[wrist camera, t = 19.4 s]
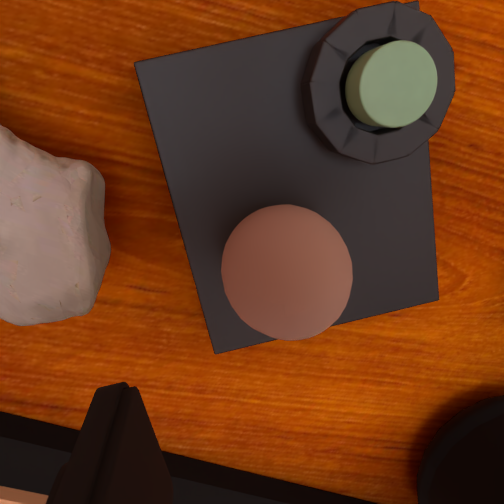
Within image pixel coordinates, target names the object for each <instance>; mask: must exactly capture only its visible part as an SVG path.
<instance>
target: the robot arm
mask: <svg viewBox="0 0 504 504" xmlns="http://www.w3.org/2000/svg"><path fill="white" fill-rule="evenodd" d="M46 504H173V484H172V479H171V476H170V474H169V471H168V468H167V465H166V463H165V460H164V457H163V455H162V452H161V449H160V447H159V444H158V441H157V438H156V436H155V433H154V430H153V428H152V425H151V422H150V420H149V417H148V414H147V411H146V409H145V406H144V403H143V401H142V398H141V395H140V393H139V390H138V388H137V387H135V386H134V387H130V388H129V386H128V384H127V383H126V382H121V383H117V384H113V385H108V386H104V387H100V388H98V389H97V390H96V392H95V394H94V397H93V399H92V402H91V404H90V407H89V410H88V412H87V415H86V417H85V420H84V423H83V425H82V428H81V430H80V433H79V436H78V438H77V441H76V443H75V446H74V449H73V451H72V454H71V457H70V459H69V462H68V463H65V464H64V465H63V466H62V467H61V468H60V470H59V472H58V474H57V476H56V479H55V481H54V484H53V486H52V489H51V491H50V494H49V496H48V499H47V501H46Z"/></svg>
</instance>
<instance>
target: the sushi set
mask: <svg viewBox="0 0 504 504" xmlns="http://www.w3.org/2000/svg"><path fill="white" fill-rule="evenodd" d="M79 433H80V431H77V430H73V429H69V428H65V427H61V426H57V425H53V424H49V423H45V422H41V421H36V420H32V419H28V418H24V417H20V416H16V415H12V414H8V413H4V412H0V504H46V501H47V499H48V496H49V494H50V491H51V489H52V486H53V484H54V481H55V479H56V476H57V474H58V472H59V470H60V468H61V467H62V466H63V465H64V464H65V463H68V462H69V459H70V457H71V454H72V451H73V449H74V446H75V443H76V441H77V438H78V436H79ZM161 452H162V455H163V457H164V460H165V463H166V465H167V468H168V471H169V474H170V476H171V479H172V484H173V504H375V503H371V502H367V501H363V500H359V499H355V498H351V497H347V496H342V495H338V494H334V493H330V492H326V491H322V490H318V489H314V488H310V487H306V486H302V485H298V484H293V483H289V482H285V481H281V480H277V479H273V478H269V477H265V476H261V475H257V474H253V473H249V472H245V471H240V470H236V469H232V468H228V467H224V466H220V465H216V464H212V463H208V462H204V461H200V460H196V459H191V458H187V457H183V456H179V455H175V454H171V453H167V452H163V451H161Z"/></svg>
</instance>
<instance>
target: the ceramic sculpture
mask: <svg viewBox="0 0 504 504" xmlns="http://www.w3.org/2000/svg"><path fill="white" fill-rule="evenodd" d="M104 202H105V181H104V178H103V177H102V175H101V173H100V172H99V171H98V170H97V169H96V168H95V167H94V166H93V165H92V164H90V163H88V162H86V161H83V160H74V159H70V158H67V157H55V156H53V155H51V154H49V153H47V152H45V151H43V150H41V149H39V148H36V147H34V146H32V145H31V144H29V143H27V142H25V141H23V140H21V139H19V138H18V137H16V136H15V135H14V134H13V133H12V132H11V131H10V130H9V129H8V128H6V127H3V126H2V125H1V124H0V318H1V319H3V320H5V321H7V322H9V323H12V324H15V325H18V326H28V325H35V324H40V323H49V322H55V321H61V320H64V319H67V318H70V317H73V316H83V315H85V314H87V313H89V312H90V310H91V309H92V307H93V305H94V303H95V300H96V296H97V294H98V291H99V289H100V286H101V283H102V279H103V276H104V272H105V269H106V266H107V265H108V262H109V258H110V253H111V245H110V241H109V238H108V235H107V232H106V229H105V225H104Z"/></svg>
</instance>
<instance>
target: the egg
mask: <svg viewBox="0 0 504 504" xmlns="http://www.w3.org/2000/svg"><path fill="white" fill-rule="evenodd" d="M221 275H222V280H223V285H224V290H225V294H226V296H227V298H228V300H229V302H230V304H231V306H232V307H233V309H234V310H235V312H236V313H237V314H238V316H239V317H240V318H241V319H242V320H243V321H244V322H245V323H246V324H248V325H249V326H250V327H251V328H253V329H255V330H257V331H259V332H261V333H263V334H265V335H268V336H270V337H272V338H275V339H281V340H287V341H289V340H301V339H306V338H310V337H313V336H315V335H317V334H319V333H321V332H323V331H325V330H326V329H327V328H328V327H330V326H331V325H332V324H333V323H334V322H335V321H336V320H337V319H338V318H339V317H340V315H341V314H342V312H343V310H344V309H345V307H346V304H347V302H348V299H349V296H350V291H351V286H352V281H353V275H352V261H351V258H350V255H349V252H348V249H347V246H346V244H345V243H344V241H343V239H342V237H341V236H340V234H339V233H338V231H337V230H336V229H335V228H334V227H333V226H332V225H331V223H330V222H328V221H327V220H326V219H324V218H323V217H321V216H320V215H319V214H317V213H316V212H313V211H311V210H309V209H307V208H303V207H299V206H295V205H291V204H286V205H275V206H269V207H265V208H262V209H259V210H257V211H255V212H253V213H252V214H250V215H249V216H247V217H246V218H244V219H243V220H242V221H241V222H240V223H239V224H238V225H237V226H236V228H235V229H234V230H233V232H232V233H231V234H230V236H229V238H228V240H227V242H226V244H225V248H224V252H223V255H222V265H221Z"/></svg>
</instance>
